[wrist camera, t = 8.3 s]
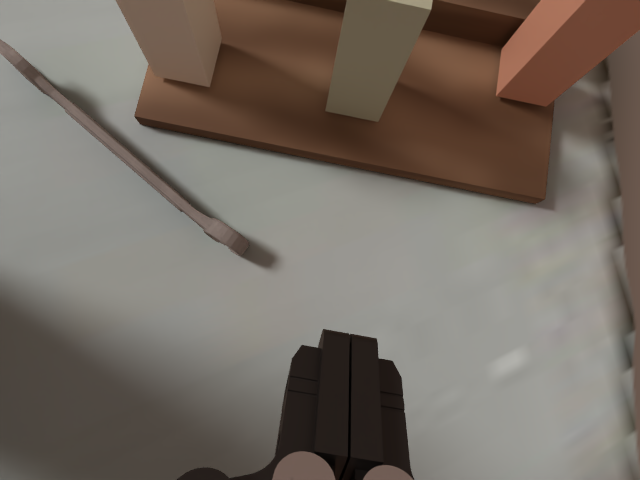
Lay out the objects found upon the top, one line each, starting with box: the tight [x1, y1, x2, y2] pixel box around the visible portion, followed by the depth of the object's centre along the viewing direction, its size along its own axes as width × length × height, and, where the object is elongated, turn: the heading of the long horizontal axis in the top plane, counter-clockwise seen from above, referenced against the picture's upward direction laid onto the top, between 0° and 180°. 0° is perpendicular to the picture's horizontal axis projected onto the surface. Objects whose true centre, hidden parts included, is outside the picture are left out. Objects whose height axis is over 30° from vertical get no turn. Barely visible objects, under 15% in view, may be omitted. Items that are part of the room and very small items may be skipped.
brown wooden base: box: [134, 0, 554, 204], centre depth 30 cm, size 13×27×4 cm, turn 80°
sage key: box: [325, 0, 433, 122], centre depth 25 cm, size 4×4×11 cm
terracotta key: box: [496, 0, 640, 107], centre depth 26 cm, size 4×4×11 cm
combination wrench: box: [0, 40, 249, 256], centre depth 29 cm, size 4×1×20 cm
